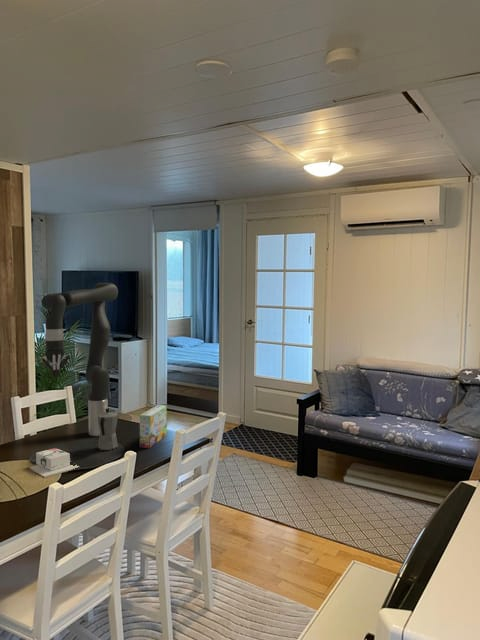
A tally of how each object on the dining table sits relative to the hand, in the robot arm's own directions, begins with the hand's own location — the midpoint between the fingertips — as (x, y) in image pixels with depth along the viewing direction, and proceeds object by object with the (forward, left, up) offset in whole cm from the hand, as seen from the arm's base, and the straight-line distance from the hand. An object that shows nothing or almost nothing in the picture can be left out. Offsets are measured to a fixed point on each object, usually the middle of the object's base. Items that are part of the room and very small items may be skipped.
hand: (55, 377), depth 208 cm
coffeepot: (-16, +16, -32) cm, 39 cm away
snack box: (-37, +22, -32) cm, 54 cm away
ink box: (+11, +14, -29) cm, 34 cm away
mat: (+11, +22, -32) cm, 41 cm away
